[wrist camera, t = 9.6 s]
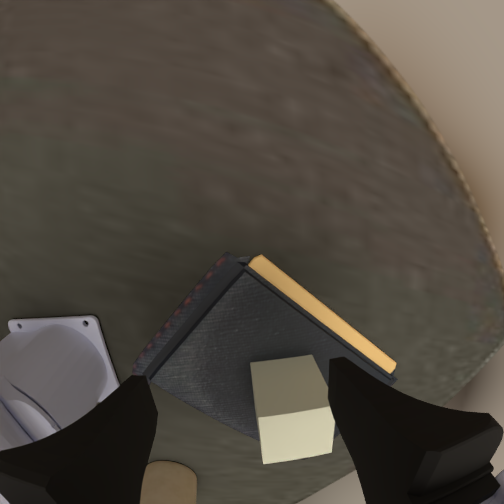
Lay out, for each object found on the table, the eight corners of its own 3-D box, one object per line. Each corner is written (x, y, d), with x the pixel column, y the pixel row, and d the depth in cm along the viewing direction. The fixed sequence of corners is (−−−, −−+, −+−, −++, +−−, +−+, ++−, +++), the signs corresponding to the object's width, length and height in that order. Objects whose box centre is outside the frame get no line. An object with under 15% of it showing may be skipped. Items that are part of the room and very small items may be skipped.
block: (255, 408, 23) (263, 464, 17) (250, 362, 22) (258, 417, 16) (311, 400, 23) (331, 452, 17) (311, 354, 22) (336, 404, 16)
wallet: (117, 374, 21) (248, 220, 19) (124, 362, 23) (247, 217, 21) (299, 474, 25) (419, 373, 23) (296, 461, 27) (410, 363, 25)
